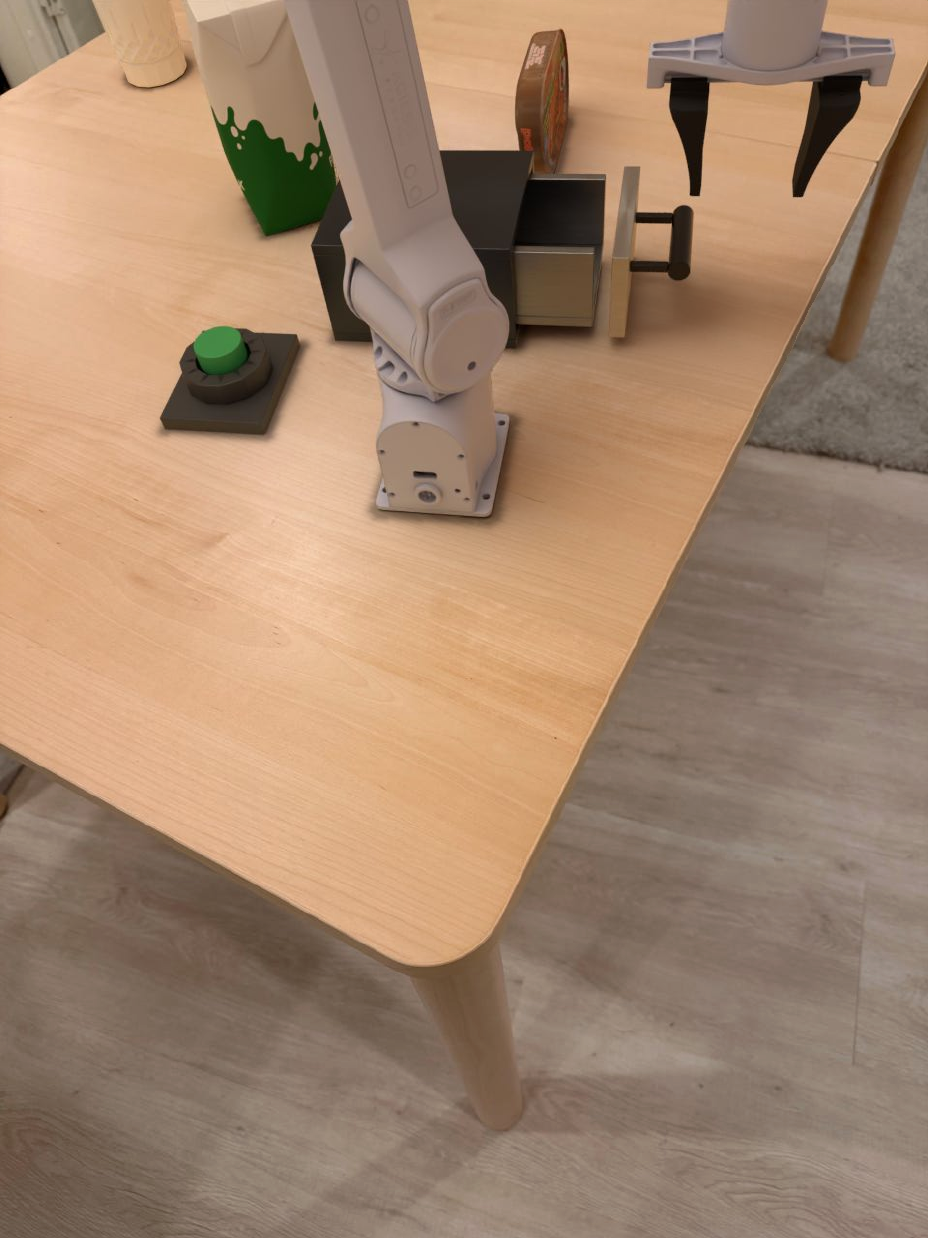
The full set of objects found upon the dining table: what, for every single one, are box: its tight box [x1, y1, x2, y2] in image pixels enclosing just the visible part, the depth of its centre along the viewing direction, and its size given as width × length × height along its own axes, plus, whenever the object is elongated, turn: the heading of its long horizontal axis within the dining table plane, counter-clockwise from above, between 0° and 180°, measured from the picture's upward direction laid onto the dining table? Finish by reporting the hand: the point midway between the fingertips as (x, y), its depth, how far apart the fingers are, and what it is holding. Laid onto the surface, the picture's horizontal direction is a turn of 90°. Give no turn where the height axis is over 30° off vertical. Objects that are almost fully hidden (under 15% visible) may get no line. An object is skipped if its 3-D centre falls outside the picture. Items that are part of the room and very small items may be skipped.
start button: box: [193, 325, 248, 375], centre depth 69 cm, size 4×4×2 cm
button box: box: [159, 327, 301, 436], centre depth 71 cm, size 10×8×3 cm
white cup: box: [91, 0, 188, 88], centre depth 99 cm, size 8×8×10 cm
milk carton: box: [182, 0, 337, 237], centre depth 77 cm, size 9×9×20 cm
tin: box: [514, 28, 570, 174], centre depth 84 cm, size 15×3×8 cm, turn 168°
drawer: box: [512, 165, 695, 338], centre depth 71 cm, size 18×11×7 cm, turn 80°
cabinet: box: [310, 149, 534, 349], centre depth 73 cm, size 15×13×9 cm
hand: (745, 188), depth 64 cm, fingers open, 6 cm apart
